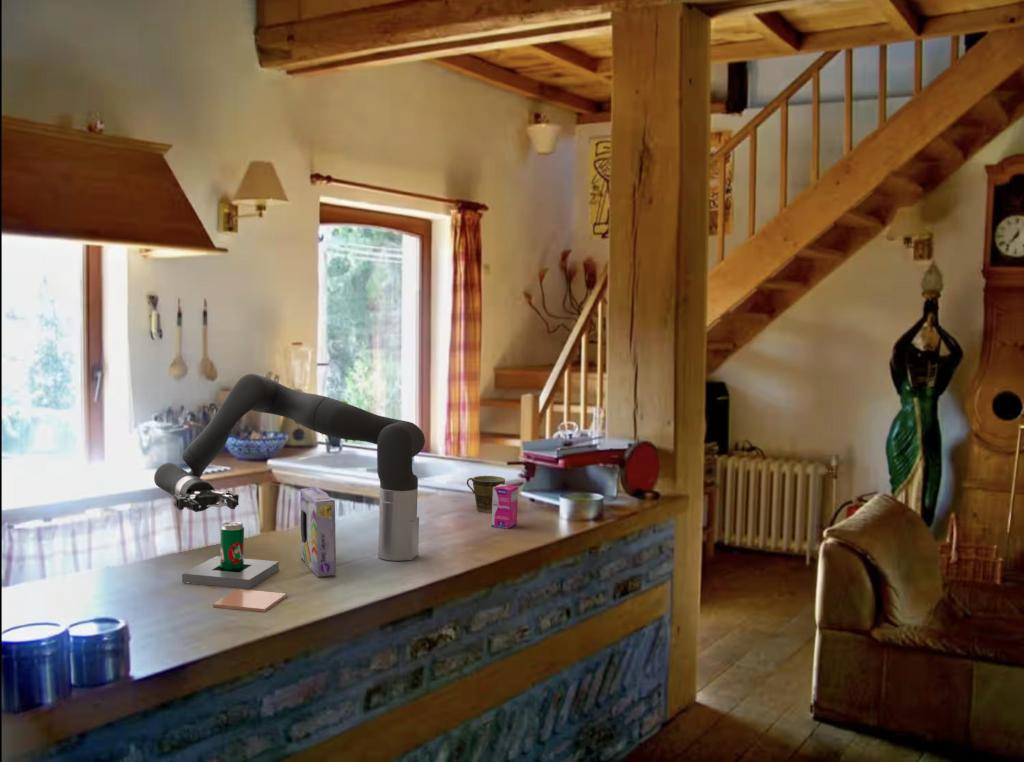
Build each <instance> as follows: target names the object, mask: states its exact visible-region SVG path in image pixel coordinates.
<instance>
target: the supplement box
mask: <svg viewBox="0 0 1024 762" xmlns="http://www.w3.org/2000/svg"><path fill="white" fill-rule="evenodd" d="M518 499H519V486H517V485H509V484H505V485H503V484H500V485H498V486H496V487H493V501H492V513H491V527H492V528H501V529H507V530H510V529H512V528H515V527H516V526H518V506H519V505H518V504H519V502H518V501H519V500H518Z"/></svg>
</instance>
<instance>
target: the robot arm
mask: <svg viewBox="0 0 1024 762" xmlns="http://www.w3.org/2000/svg"><path fill="white" fill-rule="evenodd" d="M216 411H217V412H215V414H214V416H213V417H212V419H211V420H210V421H209V422H208V424H207V425H206V426H205V427H204V429H202V431H201V432H200V433H199V434H198V436H196V437H195V438H194V440H193V441H192V442H191V443H190V444H189V445H188V446H187V448H186V449H184V450H183V452H182V454H181V455H182V459H183V462H184V463H185V464H186V466H188V467H189V468H190V471H186V470H185V469H184V468H181V467H180V466H179V465H178V464H176V463H173V462H166V463H162V464H161V465H160V466H158V468H157V469H156V470H155V473H154V477H153V481H154V484H155V485H156V486H157V487H158V488H159V489H161V490H162V491H164V492H166V493H168V494H170V496H173V506H174V507H175V508H177V510H179V511H183V510H184V509H185V508H186V510H189V511H193V512H194V513H199V512H203V511H207V510H208V509H209V508H212V507H213V508H223V507H227V508H229V509H231V510H235V509H236V508H237V506H239V497H240V494H238V493H235V492H234V491H231V490H226V491H225V492H222V491H216V490H215V488H214V487H213V485H212V484H211V483H209V482H208V481H206V480H204V479H202V478H201V477H202V476H203V474H204V472H205V471H206V469H207V467H209V465H210V464H211V463H213V461H214V460H215V459H216V457H218V455H219V454H220V453H221V452H222V451H223V449H224V447H225V446H226V444H227V442H228V440H229V437H230V435H231V433H232V431H233V429H234V427H235V426H236V424H237V423H238V422H239V421H240V420H241V419H242V418H243V417H244V416H245V415H246V414H247V413H249V412H250V411H253V412H257V413H264V414H269V415H274V416H275V415H276V416H280V417H282V418H283V417H284V418H287V419H289V420H292V421H294V422H295V423H297V424H299V425H301V426H303V427H305V428H306V429H308V430H311V431H313V432H316V433H317V434H321V435H325V436H327V437H330V438H336V439H340V440H347V441H358V442H366V443H369V444H374V445H376V461H377V462H376V465H377V467H376V468H377V469H376V470H377V476H378V479H379V510H378V512H379V515H378V544H377V545H378V547H377V550H378V551H377V554H378V555H377V556H378V558H380V559H381V560H386V561H395V562H396V561H398V562H399V561H400V562H401V561H413V560H414V559H415V558H416V557H418V555H419V535H420V517H418V490H419V489H418V488H419V479H418V476H417V475H416V474H414V472H413V471H414V470H413V458H414V457H416V456H417V455H418V454H420V453H421V452H422V450H423V449H424V447H425V444H426V438H425V435H424V432H423V431H422V429H421V428H420V427H419V426H418V425H416V424H415V423H413V422H411V421H406V420H401V419H395V418H393V417H387V416H383V415H380V414H376V413H373V412H370V411H367V410H365V409H363V408H360V407H359V406H358V407H357V406H354V405H352V404H349V403H346V402H344V401H341V400H338V399H335V398H332V397H328V396H324V395H321V394H320V395H319V394H315V393H311V392H310V393H308V392H301V391H297V390H295V389H292V388H290V387H288V386H285V385H284V384H281V383H279V382H277V381H275V380H274V379H271V378H269V377H266V376H263V375H261V374H257V373H247V374H245V375H243V376H242V377H240V378H239V379H238V380H237V382H236V383H235V384H234V386H233V387H232V388H231V390H230V392H229V393H228V395H227V396H226V398H225V399H224V401H223V403H222V404H221V405H220V407H219V408H218V409H217V410H216Z"/></svg>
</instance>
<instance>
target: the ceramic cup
mask: <svg viewBox="0 0 1024 762" xmlns="http://www.w3.org/2000/svg"><path fill="white" fill-rule="evenodd" d="M469 481H471V482H472V485H473V488H472V486H471V485H470V484H469ZM500 484H503V485H506V479H505V478H504V477H501V476H495V475H477V476H473V477H469V478H467V480H466V485H467V487H468V488H469V489H470V490H471V491H472V493H473V494H474V497H475V499H474V500H475V505H476V506H475V507H476V511H477V512H479V513H481V514H492V501H493V487H496V486H498V485H500Z"/></svg>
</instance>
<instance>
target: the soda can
mask: <svg viewBox="0 0 1024 762" xmlns="http://www.w3.org/2000/svg"><path fill="white" fill-rule="evenodd" d="M219 551H220V553H219V554H220V555H219V556H220V571H228V572H241V571H243V570H244V559H245V557H244V556H245V527H244V523H243V522H240V521H226V522H223V523H222V526H221V527H220V550H219Z"/></svg>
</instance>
